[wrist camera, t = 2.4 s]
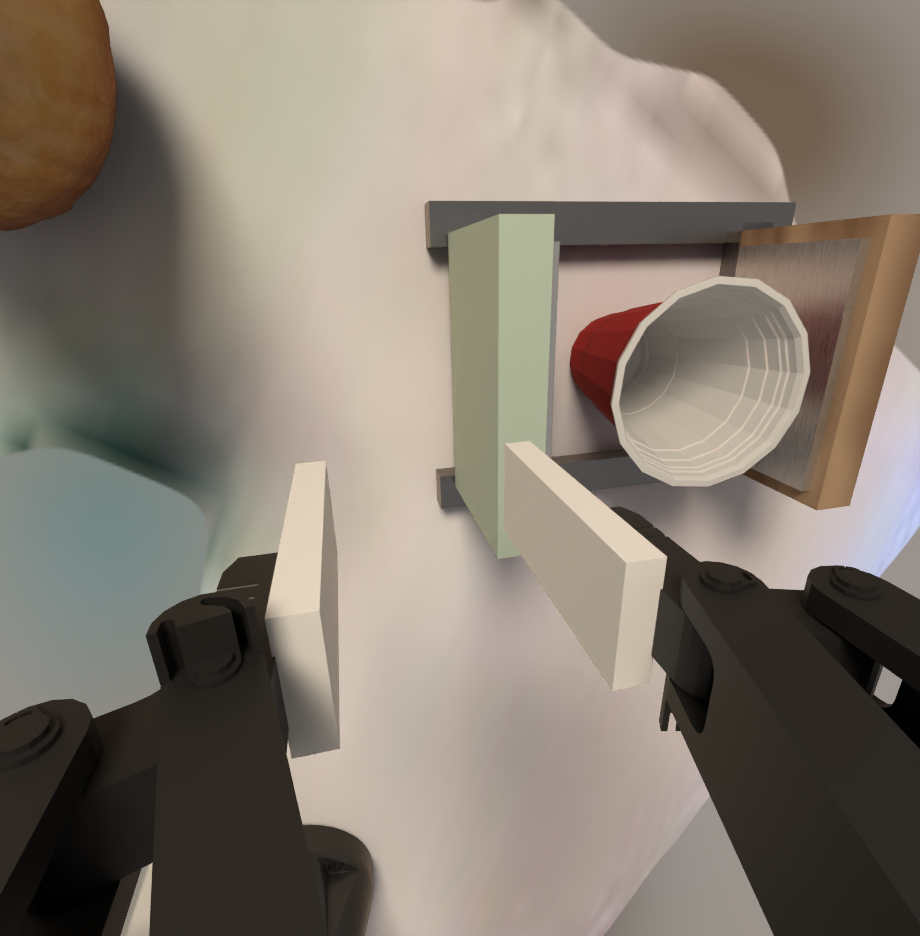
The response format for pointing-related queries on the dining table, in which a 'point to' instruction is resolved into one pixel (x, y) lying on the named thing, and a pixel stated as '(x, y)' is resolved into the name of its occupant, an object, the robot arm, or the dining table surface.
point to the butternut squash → (52, 106)
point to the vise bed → (786, 271)
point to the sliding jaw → (501, 354)
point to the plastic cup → (698, 378)
